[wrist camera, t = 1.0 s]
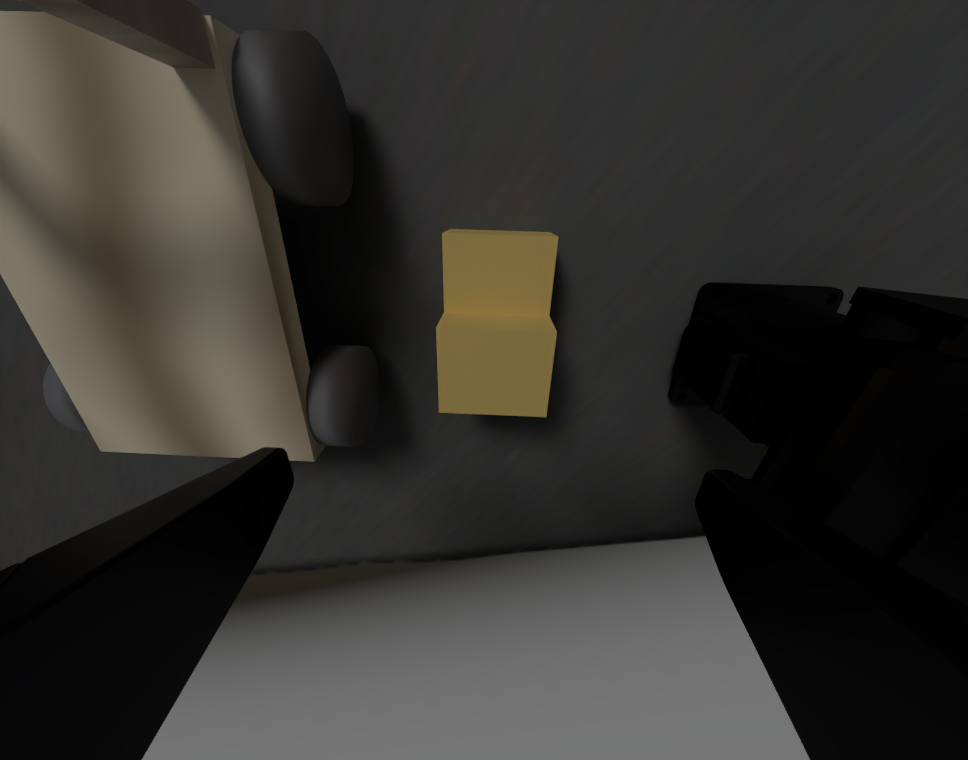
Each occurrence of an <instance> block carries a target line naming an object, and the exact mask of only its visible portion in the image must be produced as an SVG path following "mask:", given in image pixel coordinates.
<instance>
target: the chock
mask: <svg viewBox="0 0 968 760" xmlns="http://www.w3.org/2000/svg"><path fill="white" fill-rule="evenodd" d="M442 244H443V286H444V313H443V315H442V317H441V319H440V321H439V323H438V325H437V327H436V340H437V368H438V397H439V413H461V414H484V415H507V416H530V417H546V416H547V408H548V400H549V392H550V384H551V376H552V368H553V360H554V352H555V344H556V336H557V331H556V329H555V327H554V325H553V322H552V320H551V318H550V307H551V298H552V289H553V280H554V271H555V263H556V254H557V245H558V236H556V235H554V234H552V233H550V232H525V231H494V230H463V229H450V230H447V231H445V232H443V233H442Z"/></svg>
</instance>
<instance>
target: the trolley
mask: <svg viewBox="0 0 968 760" xmlns="http://www.w3.org/2000/svg"><path fill="white" fill-rule="evenodd" d="M18 1H21V2H23V3H25V4H27V5H30V6H32V7H34V8H37V9H39V10H41V11H44V12H22V11H0V274H1V276H2V278H3V280H4V281H5V283H6V285H7V287H8V288H9V290H10V292H11V294H12V296H13V297H14V299H15V301H16V303H17V304H18V306H19V308H20V310H21V311H22V313H23V315H24V317H25V318H26V320H27V322H28V324H29V326H30V327H31V329H32V331H33V333H34V334H35V336H36V338H37V340H38V341H39V343H40V345H41V347H42V348H43V350H44V352H45V354H46V356H47V357H48V359H49V361H50V364H49V366H48V368H47V371H46V373H45V377H44V382H43V392H44V398H45V401H46V404H47V406H48V408H49V410H50V412H51V413H52V414H53V416H54V417H55V418H56V419H57V420H58V421H59V422H60V423H62V424H63V425H64V426H66V427H68V428H70V429H72V430H74V431H77V432H80V433H85V434H91V435H92V437H93V439H94V440H95V442H96V444H97V446H98V447H99V449H100V451H105V452H126V453H147V454H167V455H188V456H208V457H229V458H241V457H244V456H246V455H248V454H250V453H252V452H254V451H256V450H258V449H261V448H263V447H277V448H283V449H285V451H286V452H287V454H288V458H289V460H291V461H311V462H315V460H316V459H317V457H318V456H319V455H320V453H321V452H322V451H323V449H324V448H325V446H344V447H361V446H363V445H364V444H366V442H367V441H368V440H369V438H370V436H371V434H372V432H373V430H374V427H375V424H376V420H377V416H378V410H379V403H380V375H379V368H378V364H377V360H376V357H375V355H374V353H373V351H372V350H371V349H370V348H369V347H367V346H350V345H329V346H326V347H325V348H323V349H322V350H321V351H320V353H319V354H318V356H317V357H316V359H315V361H314V363H313V365H312V368H311V371H310V367H309V362H308V357H307V352H306V348H305V343H304V338H303V333H302V329H301V324H300V319H299V314H298V310H297V305H296V300H295V295H294V291H293V286H292V281H291V276H290V271H289V267H288V262H287V257H286V252H285V248H284V243H283V238H282V233H281V229H280V224H279V219H278V214H277V210H276V205H275V200H274V195H273V191H272V189H273V190H274V191H275V192H276V193H277V195H279V196H280V197H281V198H282V199H283V200H285V201H287V202H288V203H291V204H293V205H309V206H342V205H343V204H345V203H346V201H347V200H348V198H349V196H350V193H351V190H352V185H353V178H354V148H353V138H352V131H351V125H350V120H349V115H348V110H347V106H346V102H345V99H344V95H343V92H342V89H341V86H340V83H339V80H338V77H337V75H336V72H335V70H334V68H333V65H332V63H331V61H330V59H329V57H328V55H327V54H326V52H325V50H324V49H323V47H322V46H321V44H320V43H319V42H318V40H317V39H316V38H315V37H314V36H312V35H311V34H310V33H308V32H306V31H276V30H248V31H245V32H243V33H242V34H241V35H238V34H237V33H235V32H234V31H232V30H231V29H229V28H228V27H226V26H225V25H223V24H222V23H220V22H219V21H217V20H216V19H214V18H213V17H211V16H205V15H202V11H201V10H200V9H199V8H197V7H196V6H194V5H193V4H191V3H190V2H188V1H187V0H18Z"/></svg>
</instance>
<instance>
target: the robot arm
mask: <svg viewBox="0 0 968 760" xmlns="http://www.w3.org/2000/svg"><path fill="white" fill-rule="evenodd" d="M711 290H714V294H713V296H712V297H710V298H708V293H709V292H710V291H711ZM829 295H831V296H830V298H829V300H828V301H826V298H827V297H828V296H829ZM843 296H844V294H843V291H842V290H841V289H837V288H833V287H824V286H797V285H770V284H743V283H715V282H711V283H707V284H705V285H703V286H702V287H701V288H700V290H699V292H698V296H697V299H696V302H695V306H694V309H693V312H692V316H691V319H690V322H689V325H688V326H687V327H686V328H685V330H684V333H683V337H682V340H681V343H680V347H679V350H678V353H677V357H676V360H675V364H674V367H673V373H674V376H673V379H672V382H671V386H670V389H669V393H668V396H669V398H670V399H671V400H672V402H674V403H675V404H683V405H705V406H708V407H710V408H711V409H712V410H713V411H714V412H715V413H721V414H722V415H723V416H724V417H725V418H726V419H727V420H728V421H729V422H730V423H732V424H733V425H734V426H735V427H736V428H737V429H738V430H739V431H740V432H741V433H742V434H743V435H745V436H746V437H747V438H748V439H749V440H750V441H751V442H754V443H764V444H765V445H766V446H767V447H769V449H768V451H767V453H766V455H765V456H764V458H763V460H762V462H761V463H760V465H759V467H758V468H757V470H756V472H755V474H754V475H753V477H752V479H748V480H746V479H745V478H743V477H741V476H739V475H738V474H736V473H734V472H732V471H729V470H709V471H707V472H706V473H705V475H704V478H703V480H702V483H701V486H700V488H699V491H698V493H697V496H696V499H695V507H696V511H697V514H698V517H699V519H700V522H701V525H702V527H703V530H704V533H705V535H706V538H707V540H708V543H709V546H710V548H711V551H712V554H713V556H714V559H715V562H716V564H717V567H718V570H719V572H720V575H721V577H722V579H723V582H724V584H725V586H726V588H727V590H728V593H729V595H730V597H731V599H732V601H733V603H734V605H735V607H736V609H737V611H738V613H739V615H740V617H741V620H742V622H743V624H744V626H745V628H746V630H747V632H748V634H749V636H750V638H751V640H752V642H753V644H754V646H755V648H756V650H757V652H758V654H759V656H760V658H761V660H762V662H763V664H764V666H765V668H766V670H767V672H768V675H769V677H770V679H771V681H772V683H773V685H774V687H775V689H776V691H777V693H778V695H779V697H780V699H781V701H782V703H783V705H784V707H785V709H786V711H787V713H788V715H789V717H790V719H791V721H792V723H793V726H794V728H795V730H796V732H797V734H798V736H799V738H800V740H801V742H802V744H803V746H804V748H805V750H806V752H807V754H808V756H809V758H810V760H968V299H962V298H954V297H945V296H936V295H928V294H919V293H910V292H902V291H893V290H885V289H876V288H867V287H858V288H857V290H856V291H855V293H854V295H853V297H852V298H851V300H850V302H849V303H850V304H853V305H852V306H851V308H850V310H849V311H848V313H847V315H843V314H840V313H836V312H837V310H838V308H839V306H840V304H841V302H842V300H843ZM680 392H682V394H681V395H680V396H679V397H676V396H677V394H678V393H680ZM293 483H294V476H293V472H292V469H291V465H290V462H289V458H288V454H287V452H286V451H285V449H283V448H277V447H263V448H261V449H258V450H256V451H254V452H252V453H250V454H248V455H246V456H244V457H241V458H239V459H237V460H235V461H233V462H231V463H229V464H227V465H225V466H222V467H220V468H218V469H216V470H214V471H212V472H210V473H208V474H205V475H203V476H201V477H199V478H197V479H195V480H193V481H191V482H188V483H186V484H184V485H182V486H180V487H178V488H176V489H174V490H171V491H169V492H167V493H165V494H163V495H161V496H159V497H157V498H155V499H152V500H150V501H148V502H146V503H144V504H142V505H140V506H138V507H135V508H133V509H131V510H129V511H127V512H125V513H123V514H121V515H118V516H116V517H114V518H112V519H110V520H108V521H106V522H104V523H101V524H99V525H97V526H95V527H93V528H91V529H89V530H87V531H84V532H82V533H80V534H78V535H76V536H74V537H72V538H70V539H68V540H65V541H63V542H61V543H59V544H57V545H55V546H53V547H51V548H48V549H46V550H44V551H42V552H40V553H38V554H36V555H34V556H31V557H29V558H27V559H26V560H25V561H24V562H23V563H22V562H19V563H16V564H14V565H12V566H10V567H8V568H6V569H4V570H1V571H0V760H142V758H143V756H144V755H145V753H146V751H147V750H148V748H149V746H150V744H151V743H152V741H153V739H154V738H155V736H156V734H157V732H158V731H159V729H160V727H161V726H162V724H163V722H164V720H165V719H166V717H167V715H168V714H169V712H170V710H171V708H172V707H173V705H174V703H175V702H176V700H177V698H178V697H179V695H180V693H181V691H182V690H183V688H184V686H185V685H186V683H187V681H188V679H189V678H190V676H191V674H192V673H193V671H194V669H195V667H196V666H197V664H198V662H199V661H200V659H201V657H202V655H203V654H204V652H205V650H206V649H207V647H208V645H209V644H210V642H211V640H212V638H213V637H214V635H215V633H216V632H217V629H218V628H219V626H220V625H221V623H222V621H223V620H224V618H225V616H226V614H227V613H228V611H229V609H230V608H231V606H232V604H233V603H234V601H235V599H236V597H237V596H238V594H239V592H240V591H241V589H242V587H243V585H244V584H245V582H246V580H247V578H248V577H249V575H250V574H251V572H252V570H253V568H254V567H255V565H256V563H257V561H258V559H259V558H260V556H261V554H262V552H263V550H264V548H265V546H266V544H267V542H268V540H269V538H270V535H271V533H272V531H273V529H274V527H275V525H276V522H277V520H278V518H279V516H280V514H281V512H282V509H283V507H284V505H285V503H286V501H287V499H288V496H289V494H290V492H291V490H292V487H293Z"/></svg>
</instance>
